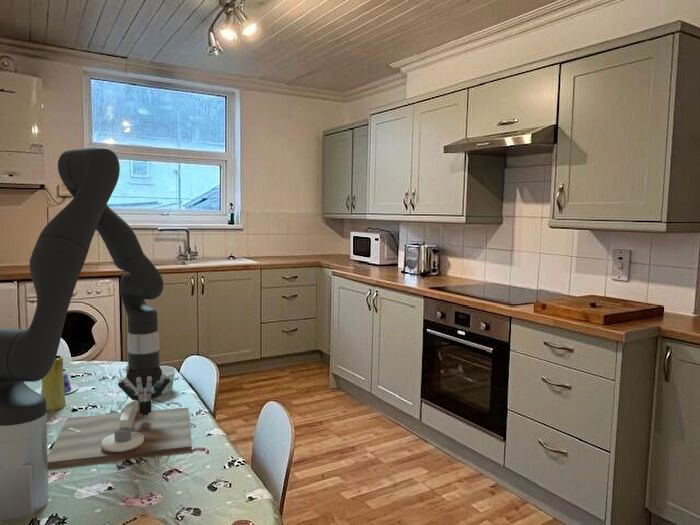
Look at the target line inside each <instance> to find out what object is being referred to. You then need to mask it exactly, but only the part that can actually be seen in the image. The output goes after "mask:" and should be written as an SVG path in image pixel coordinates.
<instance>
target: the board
mask: <svg viewBox="0 0 700 525" xmlns="http://www.w3.org/2000/svg"><path fill="white" fill-rule="evenodd" d="M189 412H190V411H189V407H179V408H167V409H158V410H157V409H156V410H151V412H150V413H149V414H148V415H143V416H142V413H141V414H140V412H139V411H137V414H136V417H135V420H134V423H133V426H132V430H131V432H139V433H141V434H143V435H144V443H143V444H142V445H141V446H139V447H137V448H135V449H132V450H129V451H124V452H109V451H105V450H103V449H102V440H103V439H104V438H105V437H107V436H109V435H112V434H114V431H115V430H116V429H118V428H120V418H121V415H122V412H121V413H111V414H100V415H99V414H97V415H87V416H76V417H68V418H66V421H65V422H64V424H63V425H62V428H61V430H60V433H58V436H57V438H56V440H55V442H54V444H52V445H53V446H52V448H51V449H50V451H49V454H48V469H50V468H59V467H67V466H74V465H75V466H76V465H82V464H92V463H101V462H107V461H108V462H109V461H119V460H125V459H133V458H143V457H150V456H151V457H152V456H158V455H160V456H161V455H167V454H168V455H169V454H174V453H175V454H176V453H185V452H192V447H193V446H192V436H191V434H192V433H191V423H190V413H189Z"/></svg>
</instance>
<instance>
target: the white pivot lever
mask: <svg viewBox="0 0 700 525" xmlns="http://www.w3.org/2000/svg"><path fill="white" fill-rule="evenodd" d="M135 392H136V393H137V394H138V391H135ZM137 412H139V410H138V401H137V400H132V399H131V398H130V397H128V400H127V399H126V403H125V405H124V408H123V410H122V412H121V413H122V415H121V418H120V428H118V429H116V430H115V431H114V434H112V435H109V436H107V437H105V438H104V439H103V440H102V449H103V450H105V451H109V452H124V451H129V450H132V449H135V448H137V447H139V446H141V445H142V444H143V443H144V435H143V434H141V433H139V432H131V430H132V426H133V423H134V420H135V417H136V414H137Z"/></svg>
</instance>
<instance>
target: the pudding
mask: <svg viewBox="0 0 700 525" xmlns="http://www.w3.org/2000/svg"><path fill="white" fill-rule="evenodd" d="M63 376H64V394H65V395H67V394H70V393H72V392H74V391H76V390H78V389H79V385H77V384H74V383H70V379H69V377H68V374H67V373H64V372H63ZM34 391H35V392H37V393H39V394H41V395H42V386H41V387H38V388H36V389H35V390H34Z"/></svg>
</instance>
